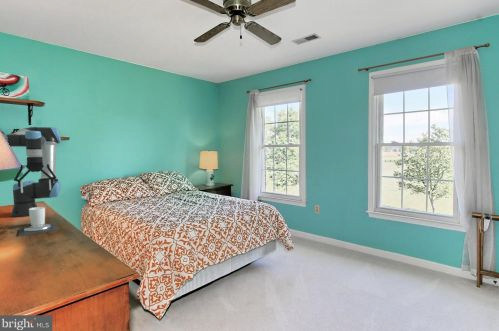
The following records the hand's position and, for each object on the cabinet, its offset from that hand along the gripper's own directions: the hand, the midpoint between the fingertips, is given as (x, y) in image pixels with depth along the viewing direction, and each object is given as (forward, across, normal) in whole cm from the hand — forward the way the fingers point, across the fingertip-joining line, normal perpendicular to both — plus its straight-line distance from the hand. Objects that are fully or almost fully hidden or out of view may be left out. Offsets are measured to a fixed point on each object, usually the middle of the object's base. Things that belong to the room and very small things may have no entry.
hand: (36, 191), depth 164 cm
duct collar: (+20, 0, -15) cm, 25 cm away
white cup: (+21, 0, 0) cm, 21 cm away
